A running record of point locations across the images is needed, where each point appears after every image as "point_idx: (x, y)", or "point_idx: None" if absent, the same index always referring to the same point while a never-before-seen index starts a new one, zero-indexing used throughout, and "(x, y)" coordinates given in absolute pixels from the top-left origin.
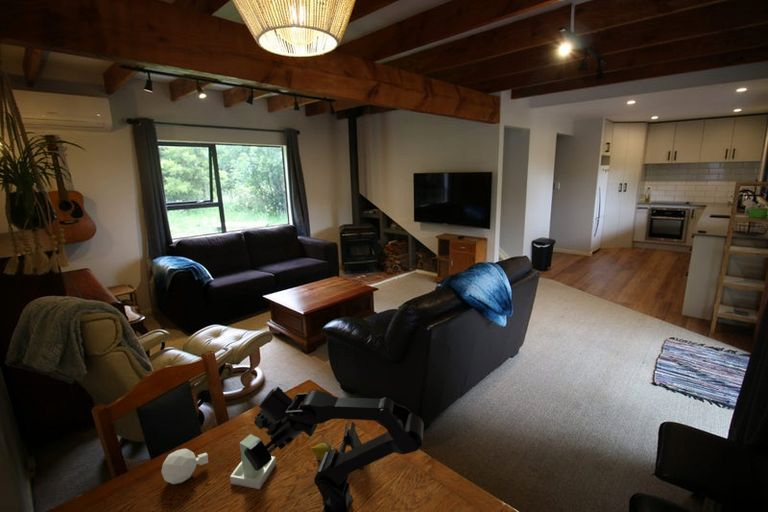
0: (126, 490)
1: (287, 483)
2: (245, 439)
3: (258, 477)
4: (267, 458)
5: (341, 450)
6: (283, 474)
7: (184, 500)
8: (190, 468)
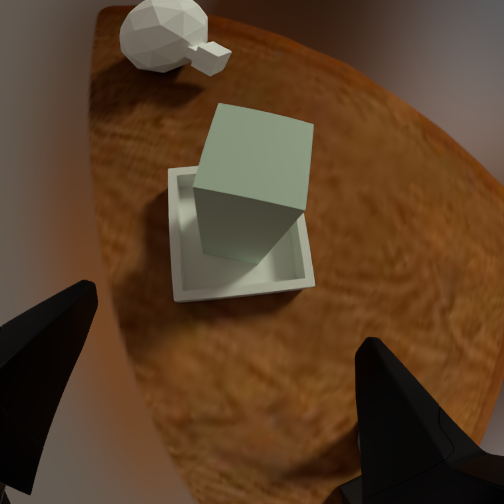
0: None
1: (237, 389)
2: (259, 118)
3: (217, 267)
4: None
5: None
6: (269, 350)
7: (102, 110)
8: (151, 52)
